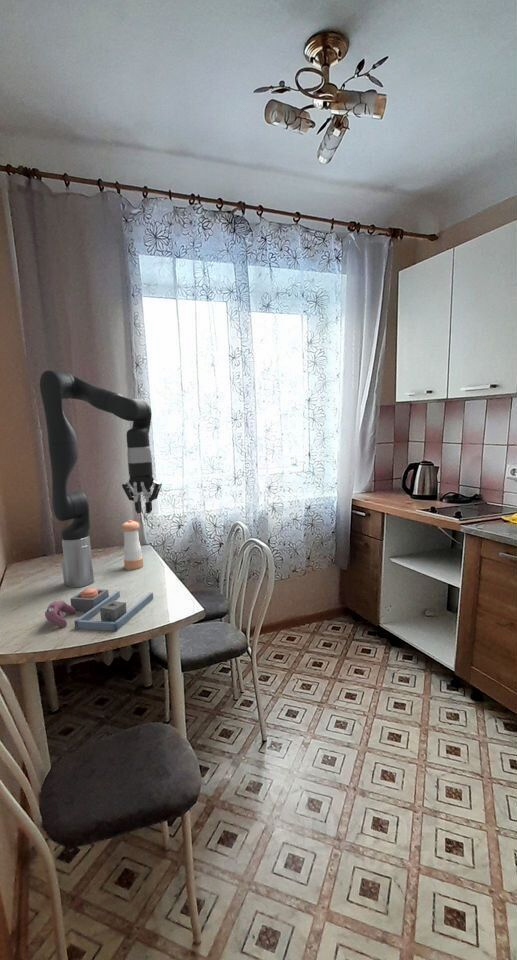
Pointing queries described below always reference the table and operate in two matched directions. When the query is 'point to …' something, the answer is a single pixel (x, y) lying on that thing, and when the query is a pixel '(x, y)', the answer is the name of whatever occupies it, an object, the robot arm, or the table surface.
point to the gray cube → (112, 611)
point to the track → (113, 626)
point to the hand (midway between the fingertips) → (144, 512)
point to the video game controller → (58, 612)
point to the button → (89, 593)
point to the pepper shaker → (132, 546)
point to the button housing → (88, 601)
